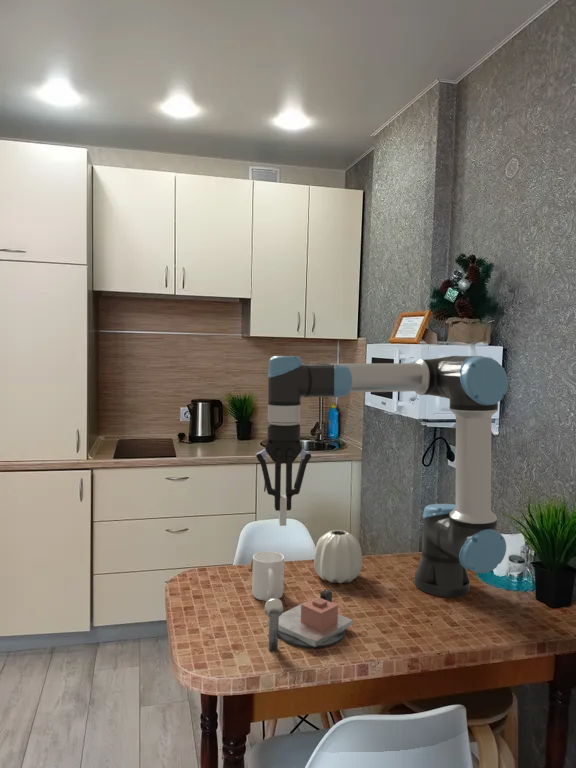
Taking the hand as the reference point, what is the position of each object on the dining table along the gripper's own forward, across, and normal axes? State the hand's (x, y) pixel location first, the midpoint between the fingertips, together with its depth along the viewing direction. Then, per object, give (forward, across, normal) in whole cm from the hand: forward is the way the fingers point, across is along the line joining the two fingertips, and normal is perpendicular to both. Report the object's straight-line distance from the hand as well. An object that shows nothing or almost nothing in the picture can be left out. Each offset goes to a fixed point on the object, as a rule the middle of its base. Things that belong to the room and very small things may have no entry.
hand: (282, 523), depth 132 cm
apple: (+25, +3, -28) cm, 37 cm away
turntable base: (+25, -7, +2) cm, 25 cm away
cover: (+22, -8, +3) cm, 24 cm away
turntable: (+23, -7, +2) cm, 24 cm away
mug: (+25, +2, -16) cm, 29 cm away
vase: (+25, -18, -29) cm, 42 cm away
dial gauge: (+24, +2, +10) cm, 27 cm away
